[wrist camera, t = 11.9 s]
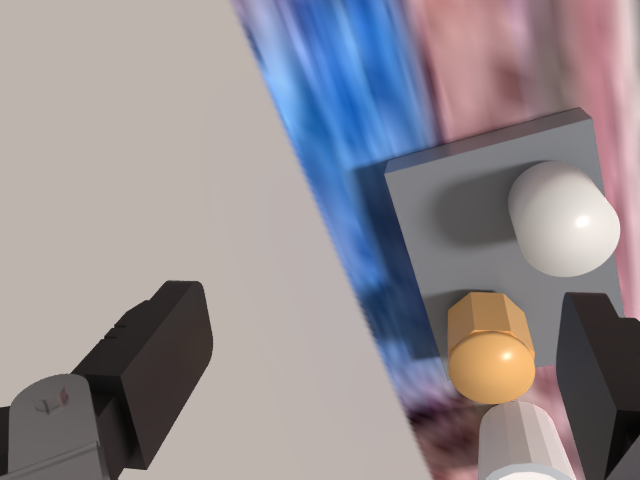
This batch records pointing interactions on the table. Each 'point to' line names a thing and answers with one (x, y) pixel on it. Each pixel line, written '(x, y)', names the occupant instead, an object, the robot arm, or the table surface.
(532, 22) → the table surface
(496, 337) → the orange wire cap
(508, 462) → the white tapered cup
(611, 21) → the table surface
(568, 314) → the robot arm
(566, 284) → the plate
